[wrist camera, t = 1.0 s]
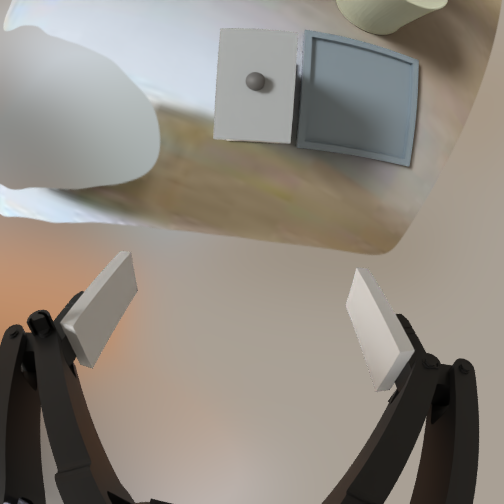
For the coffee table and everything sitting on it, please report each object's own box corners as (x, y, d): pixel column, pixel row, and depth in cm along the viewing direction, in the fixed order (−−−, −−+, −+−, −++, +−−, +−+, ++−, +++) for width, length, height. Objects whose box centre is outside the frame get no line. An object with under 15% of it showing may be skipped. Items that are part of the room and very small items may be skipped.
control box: (229, 58, 25) (204, 14, 12) (291, 62, 25) (315, 20, 12) (225, 139, 29) (196, 154, 16) (285, 143, 29) (305, 161, 16)
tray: (303, 32, 23) (305, 29, 22) (413, 61, 23) (418, 60, 22) (295, 146, 30) (297, 147, 28) (404, 165, 30) (409, 166, 28)
